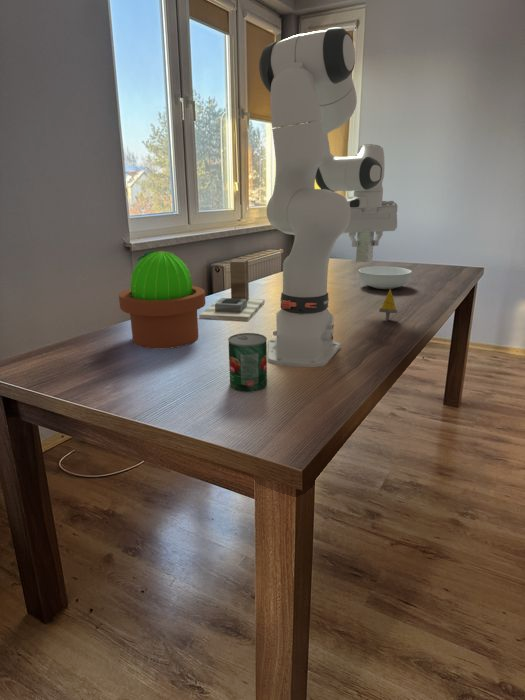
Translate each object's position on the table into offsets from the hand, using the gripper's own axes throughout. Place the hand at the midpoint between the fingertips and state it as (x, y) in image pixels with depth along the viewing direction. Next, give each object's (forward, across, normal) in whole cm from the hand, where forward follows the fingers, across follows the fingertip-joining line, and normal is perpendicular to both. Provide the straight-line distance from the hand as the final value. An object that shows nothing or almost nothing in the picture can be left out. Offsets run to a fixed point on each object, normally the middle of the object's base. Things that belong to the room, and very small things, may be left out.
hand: (365, 246), depth 155 cm
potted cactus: (+21, +66, +15) cm, 71 cm away
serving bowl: (+21, -25, -31) cm, 45 cm away
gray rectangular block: (+5, 0, 0) cm, 5 cm away
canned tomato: (+21, +51, +52) cm, 76 cm away
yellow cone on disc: (+21, -1, +15) cm, 26 cm away
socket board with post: (+21, +41, -11) cm, 48 cm away
